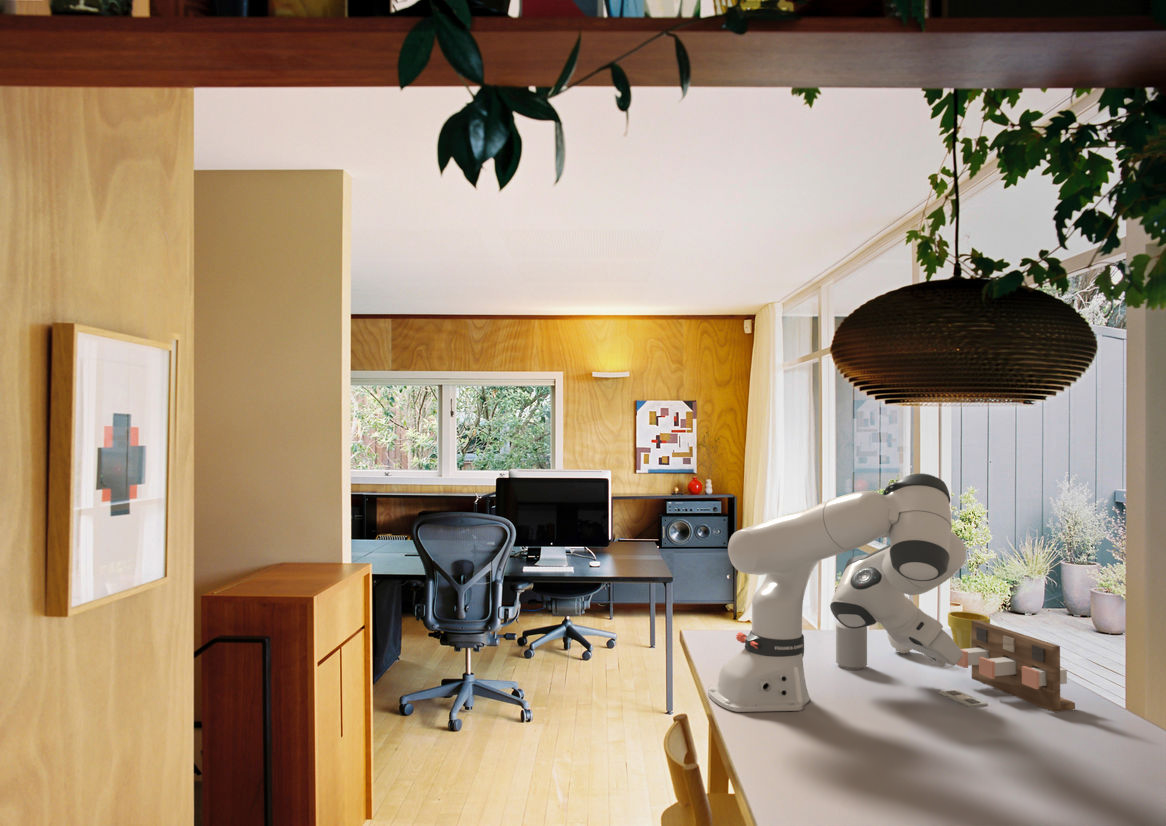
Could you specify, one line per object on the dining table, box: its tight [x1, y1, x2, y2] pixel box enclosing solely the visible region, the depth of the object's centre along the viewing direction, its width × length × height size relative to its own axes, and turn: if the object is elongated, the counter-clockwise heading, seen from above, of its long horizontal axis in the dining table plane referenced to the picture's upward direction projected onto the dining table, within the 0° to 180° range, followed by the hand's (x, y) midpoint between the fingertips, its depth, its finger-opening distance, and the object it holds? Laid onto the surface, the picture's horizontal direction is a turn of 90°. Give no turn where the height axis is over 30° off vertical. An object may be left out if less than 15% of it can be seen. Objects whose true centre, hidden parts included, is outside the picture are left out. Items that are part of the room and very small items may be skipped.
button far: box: [955, 647, 989, 669], centre depth 182 cm, size 9×4×4 cm, turn 106°
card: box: [938, 689, 989, 708], centre depth 171 cm, size 5×9×1 cm, turn 16°
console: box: [971, 620, 1076, 713], centre depth 176 cm, size 6×23×14 cm, turn 16°
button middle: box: [979, 657, 1017, 679], centre depth 174 cm, size 9×4×4 cm, turn 106°
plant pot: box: [947, 610, 991, 649], centre depth 209 cm, size 10×10×10 cm
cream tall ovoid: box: [886, 595, 913, 655], centre depth 207 cm, size 8×8×18 cm
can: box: [835, 621, 868, 671], centre depth 195 cm, size 8×8×12 cm
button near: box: [1022, 666, 1068, 689], centre depth 168 cm, size 9×4×4 cm, turn 106°
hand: (941, 662), depth 179 cm, fingers closed
